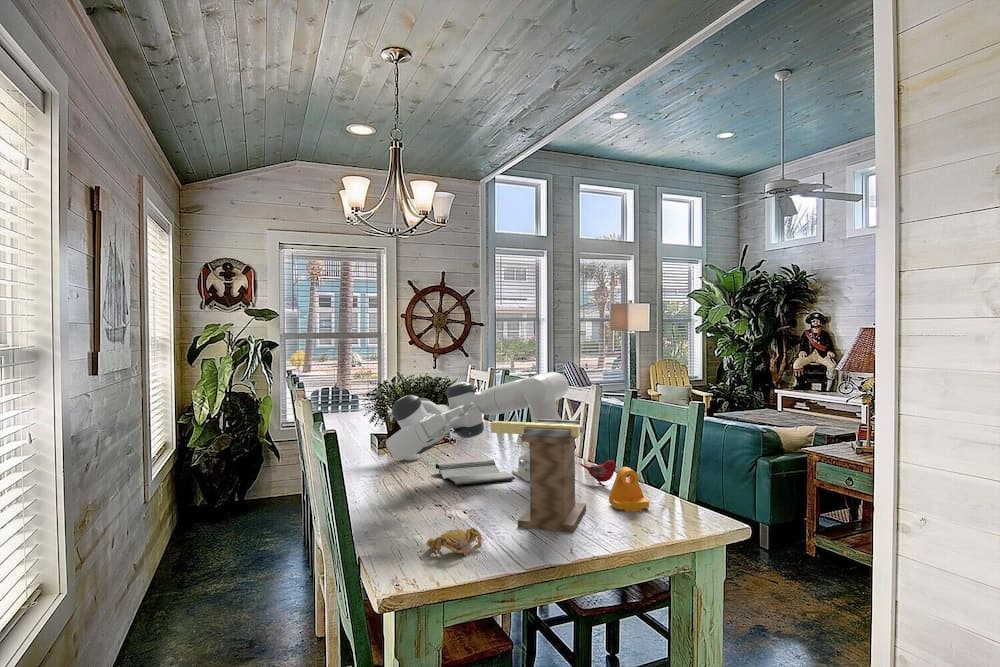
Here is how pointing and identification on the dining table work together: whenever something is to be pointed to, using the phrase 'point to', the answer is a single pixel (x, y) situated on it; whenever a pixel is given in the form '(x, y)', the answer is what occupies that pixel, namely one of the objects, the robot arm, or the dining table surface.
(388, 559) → the dining table surface
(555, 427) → the yellow bar
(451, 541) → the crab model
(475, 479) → the mat
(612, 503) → the bracket
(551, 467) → the stand
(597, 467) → the decorative bird figurine
